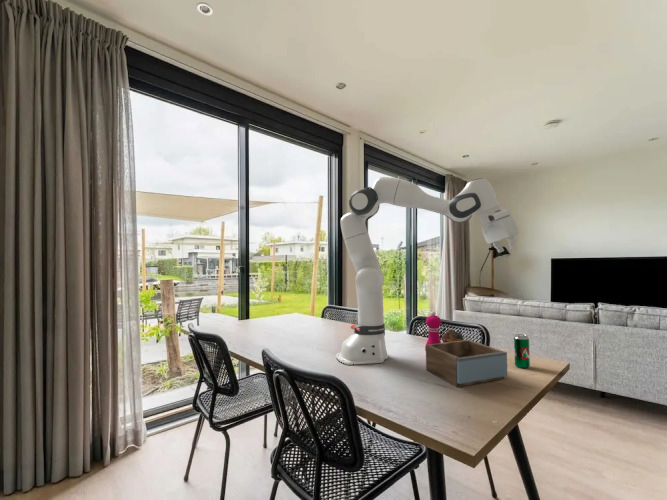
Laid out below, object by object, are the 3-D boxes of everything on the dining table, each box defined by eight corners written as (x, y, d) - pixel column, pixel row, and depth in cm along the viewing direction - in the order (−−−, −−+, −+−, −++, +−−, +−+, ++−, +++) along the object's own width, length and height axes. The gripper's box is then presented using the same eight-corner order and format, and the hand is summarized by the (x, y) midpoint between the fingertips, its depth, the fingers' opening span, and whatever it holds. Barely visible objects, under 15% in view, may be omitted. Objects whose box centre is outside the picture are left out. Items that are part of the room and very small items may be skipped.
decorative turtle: (460, 344, 157) (460, 327, 157) (467, 353, 142) (467, 335, 142) (439, 343, 159) (439, 327, 159) (444, 353, 144) (444, 334, 144)
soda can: (517, 363, 128) (516, 333, 128) (531, 366, 125) (530, 335, 125) (512, 366, 125) (512, 335, 125) (527, 370, 121) (526, 337, 121)
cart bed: (456, 386, 107) (455, 357, 107) (426, 370, 123) (425, 344, 123) (504, 378, 113) (503, 351, 113) (469, 363, 129) (468, 339, 129)
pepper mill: (434, 364, 129) (433, 313, 130) (421, 359, 136) (420, 311, 136) (447, 361, 133) (446, 312, 133) (434, 356, 139) (433, 309, 140)
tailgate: (459, 384, 105) (459, 359, 105) (456, 382, 107) (456, 358, 107) (507, 375, 112) (506, 352, 112) (504, 374, 113) (503, 351, 113)
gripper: (474, 225, 136) (488, 256, 134) (496, 214, 116) (512, 250, 114) (488, 220, 136) (502, 250, 134) (512, 208, 116) (529, 244, 114)
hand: (507, 250), depth 124 cm, fingers open, 8 cm apart
